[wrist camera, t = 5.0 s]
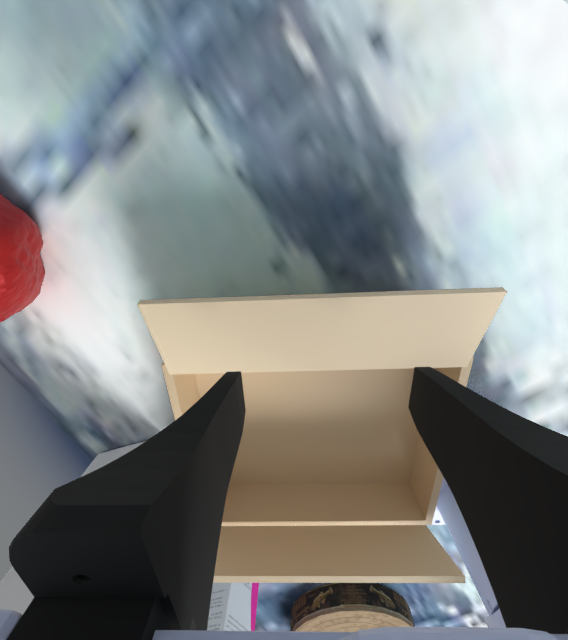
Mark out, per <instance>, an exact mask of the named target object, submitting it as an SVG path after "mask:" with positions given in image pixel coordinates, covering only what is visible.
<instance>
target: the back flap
mask: <svg viewBox="0 0 568 640" xmlns="http://www.w3.org/2000/svg"><path fill="white" fill-rule="evenodd" d="M213 583H465V576H464V575H463V573H462V572H461V571H460V569H459V568H458V567H457V565H456V564H455V563H454V562H453V560H452V559H451V558H450V556H449V555H448V554H447V552H446V551H445V550H444V548H443V547H442V546H441V545H440V543H439V542H438V541H437V539H436V538H435V537H434V535H433V534H432V533H431V532H430V530H429V529H428V528H427V526H426V525H358V526H221V532H220V538H219V545H218V551H217V558H216V565H215V572H214V579H213Z"/></svg>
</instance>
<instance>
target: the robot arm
mask: <svg viewBox="0 0 568 640" xmlns="http://www.w3.org/2000/svg"><path fill="white" fill-rule="evenodd" d="M408 408H409V411H410V413H411V416H412V419H413V421H414V423H415V426H416V428H417V430H418V432H419V434H420V436H421V438H422V440H423V441H424V443H425V445H426V447H427V449H428V450H429V452H430V454H431V456H432V457H433V459H434V461H435V463H436V464H437V466H438V468H439V470H440V471H441V473H442V475H443V481H442V485H441V489H440V493H439V497H438V501H437V505H436V509H435V513H434V517H433V521H432V525H446V526H447V528H448V530H449V533H450V535H451V537H452V539H453V541H454V543H455V545H456V547H457V549H458V551H459V553H460V555H461V557H462V560H463V562H464V564H465V566H466V568H467V570H468V572H469V574H470V576H471V578H472V580H473V582H474V584H475V586H476V589H477V591H478V593H479V595H480V597H481V599H482V601H483V603H484V605H485V607H486V609H487V611H488V613H489V616H487V617H485V618H484V620H485V622H486V624H487V626H488V628H474V627H380V628H372V629H364V630H359V631H357V632H303V631H207V626H208V618H209V610H210V602H211V594H212V587H213V579H214V572H215V565H216V558H217V551H218V545H219V538H220V532H221V525H222V519H223V513H224V507H225V501H226V495H227V491H228V487H229V482H230V479H231V475H232V471H233V467H234V464H235V460H236V456H237V452H238V449H239V445H240V441H241V437H242V433H243V427H244V419H245V412H246V409H245V400H244V392H243V384H242V375H241V371H235V372H226V373H225V374H224V375H223V376H222V377H221V378H220V379H219V380H218V381H217V382H216V383H215V384H214V385H213V386H212V387H211V388H210V389H209V390H208V391H207V392H206V393H205V394H204V395H203V396H202V397H201V398H200V399H199V400H198V401H197V402H196V403H195V404H194V405H193V406H192V407H190V408H189V409H188V410H187V411H186V412H185V413H184V414H183V415H181V416H180V417H179V418H178V419H177V420H175V421H174V422H173V423H171V424H170V425H169V426H167V427H166V428H165V429H163V430H162V431H161V432H159V433H158V434H156V435H155V436H153V437H152V438H150V439H149V440H147V441H146V442H144V443H142V444H141V445H139V446H138V447H136V448H135V449H133V450H131V451H130V452H128V453H126V454H125V455H123V456H121V457H119V458H118V459H116V460H114V461H112V462H110V463H108V464H106V465H105V466H103V467H101V468H99V469H97V470H95V471H93V472H91V473H89V474H86V475H84V476H82V477H80V478H78V479H76V480H74V481H72V482H70V483H67V484H65V485H63V486H61V487H59V488H56V489H55V490H54V491H53V492H52V493H51V494H50V496H49V497H48V498H47V499H46V500H45V502H44V503H43V504H42V505H41V506H40V508H39V509H38V510H37V511H36V512H35V514H34V515H33V516H32V517H31V518H30V520H29V521H28V522H27V523H26V525H25V526H24V527H23V528H22V529H21V531H20V532H19V533H18V534H17V535H16V537H15V538H14V539H13V541H12V543H11V545H10V547H9V558H10V562H11V564H12V566H13V568H14V570H15V571H16V572H17V574H18V575H19V577H20V578H21V579H22V581H23V582H24V584H25V585H26V586H27V588H28V589H29V591H30V592H31V593H32V595H33V596H34V598H33V600H32V601H31V603H30V605H29V606H28V608H27V609H26V611H25V612H24V614H23V615H22V614H21V613H18V612H16V611H13V610H6V609H0V640H568V437H567V436H565V435H562V434H560V433H557V432H555V431H552V430H550V429H548V428H545V427H543V426H541V425H539V424H536V423H534V422H532V421H530V420H528V419H525V418H523V417H521V416H519V415H517V414H515V413H513V412H511V411H509V410H507V409H505V408H503V407H501V406H499V405H497V404H495V403H493V402H491V401H490V400H488V399H486V398H484V397H482V396H481V395H479V394H477V393H475V392H474V391H472V390H470V389H468V388H467V387H465V386H463V385H461V384H460V383H458V382H456V381H455V380H453V379H451V378H450V377H448V376H446V375H444V374H443V373H441V372H439V371H437V370H435V369H433V368H431V367H415V368H414V374H413V380H412V387H411V393H410V399H409V405H408Z"/></svg>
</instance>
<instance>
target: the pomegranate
mask: <svg viewBox="0 0 568 640" xmlns="http://www.w3.org/2000/svg"><path fill="white" fill-rule="evenodd" d="M42 246H43V240H42V235H41V232H40V230H39V228H38V226H37V224H36V223H35V222H34V221H33V220H32V219H31V218H30V217H29V216H28V215H27V214H26V213H25V212H24V211H22V210H21V209H19V208H18V207H16V206H15V205H14V204H12V203H11V202H10V201H9V200H8V199H7V198H5V197H4V196H3V195H2V194H0V322H2V321H4V320H6V319H7V318H9V317H10V316H12V315H13V314H15V313H17V312H20V311H22V309H24V308H25V307H26V306H28V305H29V304H31V303H32V302H33V301H34V299H35V298H36V297H37V296H38V295H39V293H40V289H41V286H42V282H43V279H44V275H45V270H44V266H43V262H42V260H41V256H40V251H41V249H42Z"/></svg>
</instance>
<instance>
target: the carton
mask: <svg viewBox="0 0 568 640" xmlns="http://www.w3.org/2000/svg"><path fill="white" fill-rule="evenodd" d="M473 359H474V356H472V358H471V360H470V362H469V364H468V366H467V367H447V368H433V369H435V370H437V371H439V372H441V373H443V374H444V375H446V376H448V377H450V378H451V379H453V380H455V381H456V382H458V383H460V384H461V385H463V386H465V387H466V386H467V382H468V378H469V374H470V370H471V366H472V362H473ZM161 366H162V370H163V374H164V378H165V382H166V386H167V390H168V394H169V398H170V402H171V406H172V410H173V414H174V418H175V420H177V419H178V418H179V417H180V416H181V415H183V414H184V413H185V412H186V411H187V410H188V409H189V408H190V407H192V406H193V405H194V404H195V403H196V402H197V401H198V400H199V399H200V398H201V397H202V396H203V395H204V394H205V393H206V392H207V391H208V390H209V389H210V388H211V387H212V386H213V385H214V384H215V383H216V382H217V381H218V380H219V379H220V378H221V377H222V376H223V375H224V374H225V373H210V374H171V375H169V373H168V370H167V368H166V366H165V364H164V362H163V364H162V365H161ZM413 374H414V368H407V369H368V370H328V371H289V372H250V373H241V375H242V384H243V392H244V400H245V409H246V412H245V419H244V427H243V433H242V437H241V441H240V445H239V449H238V452H237V456H236V460H235V464H234V467H233V471H232V475H231V479H230V482H229V487H228V491H227V495H226V501H225V507H224V513H223V519H222V525H221V526H322V525H432V521H433V517H434V513H435V509H436V505H437V501H438V497H439V493H440V489H441V485H442V481H443V475H442V473H441V471H440V470H439V468H438V466H437V464H436V463H435V461H434V459H433V457H432V456H431V454H430V452H429V450H428V449H427V447H426V445H425V443H424V441H423V440H422V438H421V436H420V434H419V432H418V430H417V428H416V426H415V423H414V421H413V419H412V416H411V413H410V411H409V408H408V405H409V399H410V393H411V387H412V380H413Z"/></svg>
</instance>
